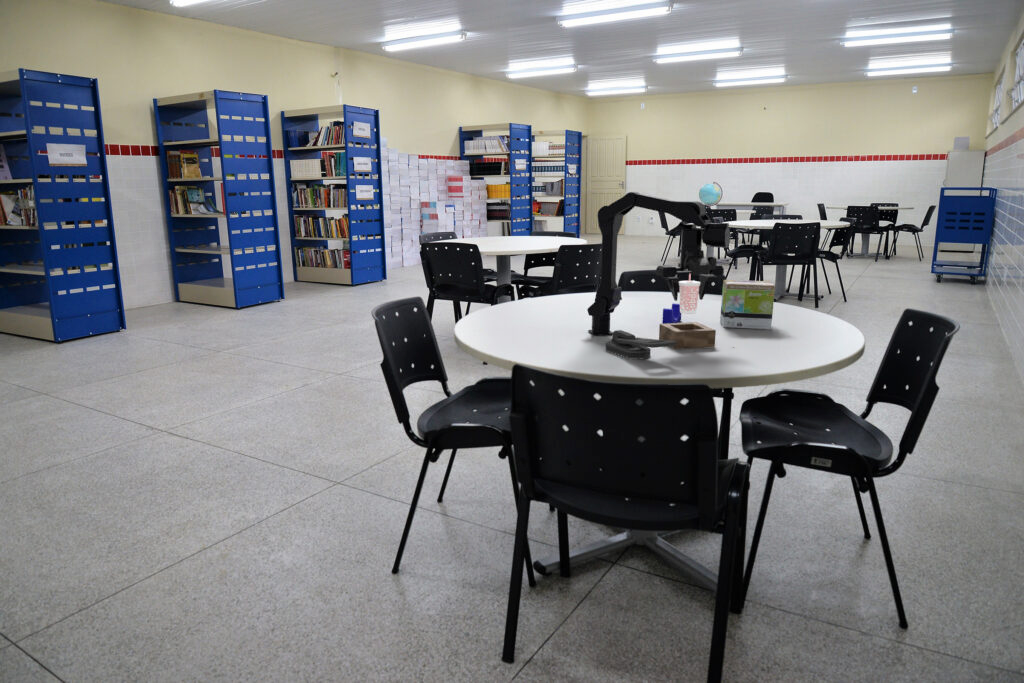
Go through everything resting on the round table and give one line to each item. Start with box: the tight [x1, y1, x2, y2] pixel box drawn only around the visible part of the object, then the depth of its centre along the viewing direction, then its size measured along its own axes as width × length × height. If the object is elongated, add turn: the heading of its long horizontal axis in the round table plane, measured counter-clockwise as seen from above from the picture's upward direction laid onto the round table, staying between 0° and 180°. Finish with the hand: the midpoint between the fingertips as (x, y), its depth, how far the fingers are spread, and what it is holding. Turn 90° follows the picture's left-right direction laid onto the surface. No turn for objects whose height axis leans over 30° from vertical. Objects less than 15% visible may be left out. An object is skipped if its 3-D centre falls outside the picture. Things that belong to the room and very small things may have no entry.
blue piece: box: [661, 302, 682, 324], centre depth 228 cm, size 12×4×6 cm, turn 151°
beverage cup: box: [678, 274, 701, 315], centre depth 196 cm, size 6×6×14 cm
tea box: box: [719, 279, 776, 331], centre depth 222 cm, size 15×10×15 cm
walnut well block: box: [658, 321, 717, 350], centre depth 199 cm, size 12×12×5 cm
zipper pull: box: [605, 329, 677, 360], centre depth 184 cm, size 9×7×25 cm
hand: (688, 300), depth 197 cm, fingers closed on beverage cup, 8 cm apart
